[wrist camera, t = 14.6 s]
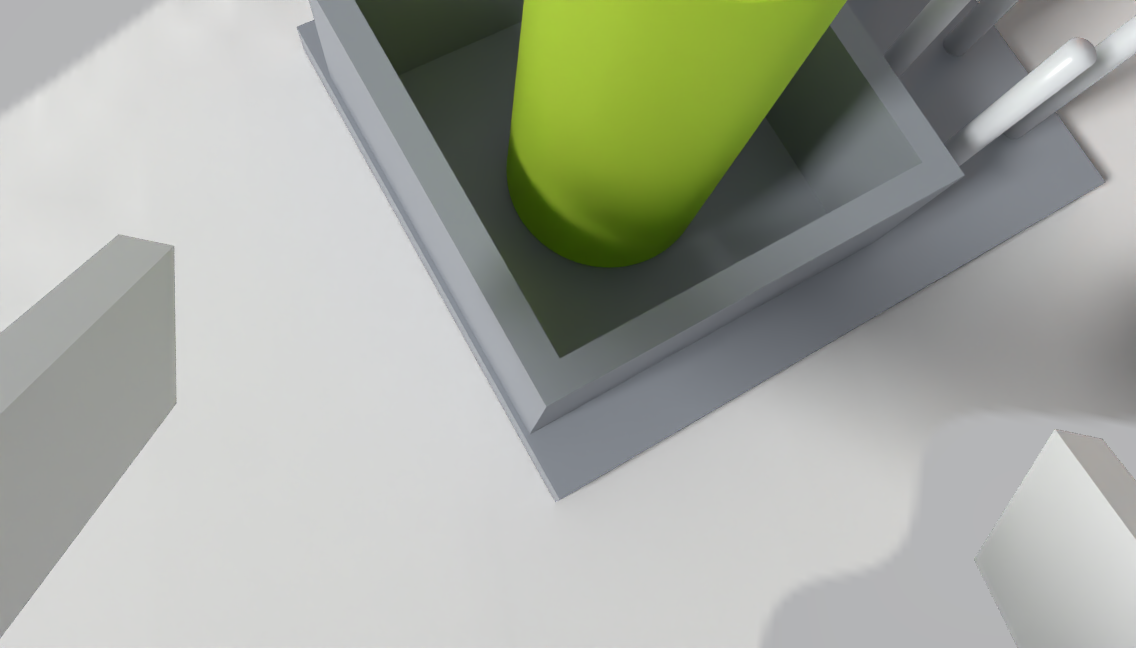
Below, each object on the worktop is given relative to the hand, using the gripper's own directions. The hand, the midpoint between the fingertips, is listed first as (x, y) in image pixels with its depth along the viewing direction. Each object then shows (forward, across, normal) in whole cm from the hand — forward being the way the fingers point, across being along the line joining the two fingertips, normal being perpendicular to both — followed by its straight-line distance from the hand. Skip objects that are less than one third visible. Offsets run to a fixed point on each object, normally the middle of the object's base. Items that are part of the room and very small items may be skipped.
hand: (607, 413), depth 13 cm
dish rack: (+17, +3, 0) cm, 17 cm away
